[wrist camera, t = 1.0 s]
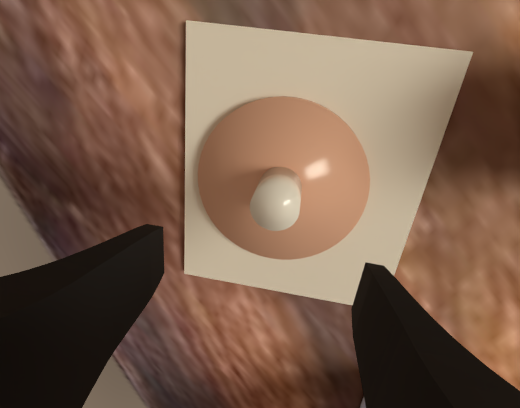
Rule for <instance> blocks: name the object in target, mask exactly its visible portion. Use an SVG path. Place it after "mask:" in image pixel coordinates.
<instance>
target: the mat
mask: <svg viewBox="0 0 520 408" xmlns="http://www.w3.org/2000/svg"><path fill="white" fill-rule="evenodd" d="M472 54H473V52H470V51H461V50H452V49H443V48H433V47H424V46H415V45H406V44H397V43H388V42H379V41H370V40H361V39H352V38H343V37H333V36H324V35H315V34H306V33H297V32H288V31H279V30H270V29H261V28H252V27H242V26H233V25H224V24H215V23H206V22H197V21H188V20H186V100H185V249H184V274H190V275H195V276H200V277H205V278H211V279H216V280H221V281H227V282H232V283H237V284H242V285H248V286H253V287H258V288H263V289H269V290H274V291H279V292H285V293H290V294H295V295H300V296H306V297H311V298H316V299H322V300H327V301H332V302H337V303H343V304H348V305H353V302H354V299H355V296H356V292H357V289H358V286H359V282H360V279H361V276H362V272H363V269H364V266H365V262H366V263H372V264H378V265H383V266H385V267H386V268H387V269H388V270H389V271H390V272H391V274H392V275H393V276H394V274H395V271H396V268H397V266H398V263H399V260H400V257H401V254H402V252H403V249H404V246H405V243H406V240H407V237H408V235H409V232H410V229H411V226H412V223H413V220H414V218H415V215H416V212H417V209H418V206H419V204H420V201H421V198H422V195H423V192H424V189H425V187H426V184H427V181H428V178H429V175H430V172H431V170H432V167H433V164H434V161H435V158H436V156H437V153H438V150H439V147H440V144H441V141H442V139H443V136H444V133H445V130H446V127H447V124H448V122H449V119H450V116H451V113H452V110H453V108H454V105H455V102H456V99H457V96H458V93H459V91H460V88H461V85H462V82H463V79H464V76H465V74H466V71H467V68H468V65H469V62H470V60H471V57H472ZM276 96H290V97H298V98H303V99H307V100H310V101H313V102H315V103H318V104H320V105H322V106H324V107H326V108H328V109H329V110H331V111H332V112H334V113H335V114H337V115H338V116H339V117H340V118H341V119H342V120H343V121H344V122H346V123H347V124H348V126H349V127H350V128H351V129H352V131H353V132H354V133H355V135H356V137H357V138H358V140H359V142H360V143H361V145H362V147H363V150H364V152H365V155H366V157H367V162H368V166H369V173H370V190H369V195H368V200H367V204H366V206H365V209H364V212H363V214H362V216H361V217H360V219H359V221H358V223H357V224H356V225H355V227H354V228H353V229H352V231H351V232H350V233H349V234H348V235H347V236H346V237H345V238H344V239H342V240H341V241H340V242H339V243H338V244H336V245H334V246H333V247H331V248H330V249H328V250H326V251H324V252H321V253H319V254H316V255H313V256H310V257H306V258H301V259H292V260H280V259H272V258H267V257H263V256H259V255H256V254H253V253H251V252H249V251H246V250H244V249H242V248H241V247H239V246H237V245H236V244H234V243H233V242H232V241H230V240H229V239H228V238H226V237H225V236H224V235H223V234H222V233H221V232H220V231H219V230H218V228H217V227H216V226H215V225H214V223H213V222H212V221H211V219H210V217H209V216H208V214H207V212H206V210H205V208H204V206H203V203H202V200H201V197H200V193H199V187H198V164H199V160H200V156H201V152H202V150H203V147H204V145H205V142H206V141H207V139H208V137H209V135H210V134H211V132H212V131H213V130H214V128H215V127H216V126H217V125H218V124H219V123H220V122H221V121H222V120H223V119H224V118H225V117H226V116H228V115H229V114H230V113H232V112H233V111H234V110H236V109H238V108H240V107H241V106H243V105H245V104H247V103H250V102H253V101H255V100H258V99H263V98H267V97H276Z"/></svg>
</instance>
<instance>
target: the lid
mask: <svg viewBox="0 0 520 408" xmlns="http://www.w3.org/2000/svg"><path fill="white" fill-rule="evenodd" d="M198 187H199V193H200V197H201V200H202V203H203V206H204V208H205V210H206V212H207V214H208V216H209V217H210V219H211V221H212V222H213V223H214V225H215V226H216V227H217V228H218V230H219V231H220V232H221V233H222V234H223V235H224V236H225V237H226V238H228V239H229V240H230V241H232V242H233V243H234V244H236V245H237V246H239V247H241V248H242V249H244V250H246V251H249V252H251V253H253V254H256V255H259V256H263V257H267V258H272V259H280V260H292V259H301V258H306V257H310V256H313V255H316V254H319V253H321V252H324V251H326V250H328V249H330V248H331V247H333V246H334V245H336V244H338V243H339V242H340V241H341V240H342V239H344V238H345V237H346V236H347V235H348V234H349V233H350V232H351V231H352V229H353V228H354V227H355V225H356V224H357V223H358V221H359V219H360V217H361V216H362V214H363V212H364V209H365V206H366V204H367V200H368V195H369V190H370V173H369V166H368V162H367V157H366V155H365V152H364V150H363V147H362V145H361V143H360V142H359V140H358V138H357V137H356V135H355V133H354V132H353V131H352V129H351V128H350V127H349V126H348V124H347V123H346V122H344V121H343V120H342V119H341V118H340V117H339V116H338V115H337V114H335V113H334V112H332V111H331V110H329V109H328V108H326V107H324V106H322V105H320V104H318V103H315V102H313V101H310V100H307V99H303V98H298V97H290V96H276V97H267V98H263V99H258V100H255V101H253V102H250V103H247V104H245V105H243V106H241V107H240V108H238V109H236V110H234V111H233V112H232V113H230V114H229V115H228V116H226V117H225V118H224V119H223V120H222V121H221V122H220V123H219V124H218V125H217V126H216V127H215V128H214V130H213V131H212V132H211V134H210V135H209V137H208V139H207V141H206V142H205V145H204V147H203V150H202V152H201V156H200V160H199V164H198Z"/></svg>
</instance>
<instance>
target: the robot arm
mask: <svg viewBox="0 0 520 408" xmlns="http://www.w3.org/2000/svg"><path fill="white" fill-rule="evenodd" d="M163 274H164V247H163V227H161V226H155V225H149V224H146V225H143V226H140V227H137V228H135V229H133V230H130V231H128V232H126V233H123V234H121V235H119V236H117V237H114V238H112V239H110V240H107V241H105V242H103V243H100V244H98V245H96V246H93V247H91V248H88V249H86V250H83V251H81V252H78V253H76V254H73V255H71V256H68V257H65V258H63V259H60V260H57V261H54V262H51V263H48V264H45V265H42V266H39V267H36V268H32V269H30V270H26V271H22V272H19V273H15V274H11V275H7V276H3V277H0V408H82V407H83V405H84V403H85V401H86V399H87V397H88V395H89V394H90V392H91V390H92V388H93V386H94V385H95V383H96V381H97V379H98V377H99V376H100V374H101V372H102V370H103V369H104V367H105V365H106V363H107V361H108V360H109V358H110V357H111V355H112V354H113V352H114V351H115V349H116V348H117V346H118V345H119V343H120V342H121V341H122V339H123V338H124V336H125V335H126V333H127V332H128V331H129V329H130V328H131V326H132V325H133V323H134V322H135V321H136V319H137V318H138V316H139V315H140V314H141V312H142V311H143V309H144V308H145V306H146V305H147V303H148V302H149V300H150V299H151V297H152V296H153V294H154V292H155V290H156V288H157V287H158V285H159V283H160V280H161V278H162V276H163ZM352 328H353V339H354V345H355V350H356V356H357V362H358V367H359V372H360V378H361V383H362V388H363V394H364V398H363V400H362V403H361V405H360V408H520V391H519V390H518V389H516V388H515V387H514V386H512V385H511V384H509V383H508V382H507V381H505V380H504V379H503V378H501V377H500V376H499V375H497V374H496V373H495V372H494V371H492V370H491V369H490V368H488V367H487V366H486V365H485V364H483V363H482V362H481V361H480V360H479V359H477V358H476V357H475V356H474V355H473V354H471V353H470V352H469V351H468V350H467V349H466V348H464V347H463V346H462V345H461V344H460V343H459V342H457V341H456V340H455V339H454V338H453V337H452V336H451V335H450V334H449V333H448V332H447V331H446V330H444V329H443V328H442V327H441V326H440V325H439V324H438V323H437V322H436V321H435V320H434V319H433V318H432V317H431V316H430V315H429V314H428V313H427V312H426V311H425V310H424V309H423V308H422V307H421V306H420V304H419V303H418V302H417V301H416V300H415V299H414V298H413V297H412V296H411V295H410V294H409V293H408V291H407V290H406V289H405V288H404V287H403V286H402V285H401V284H400V283H399V281H398V280H397V279H396V278H395V277H394V276H393V275H392V274H391V272H390V271H389V270H388V269H387V268H386V267H385V266H383V265H378V264H372V263H366V262H365V266H364V269H363V272H362V276H361V279H360V282H359V286H358V289H357V292H356V296H355V299H354V302H353V305H352Z"/></svg>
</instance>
